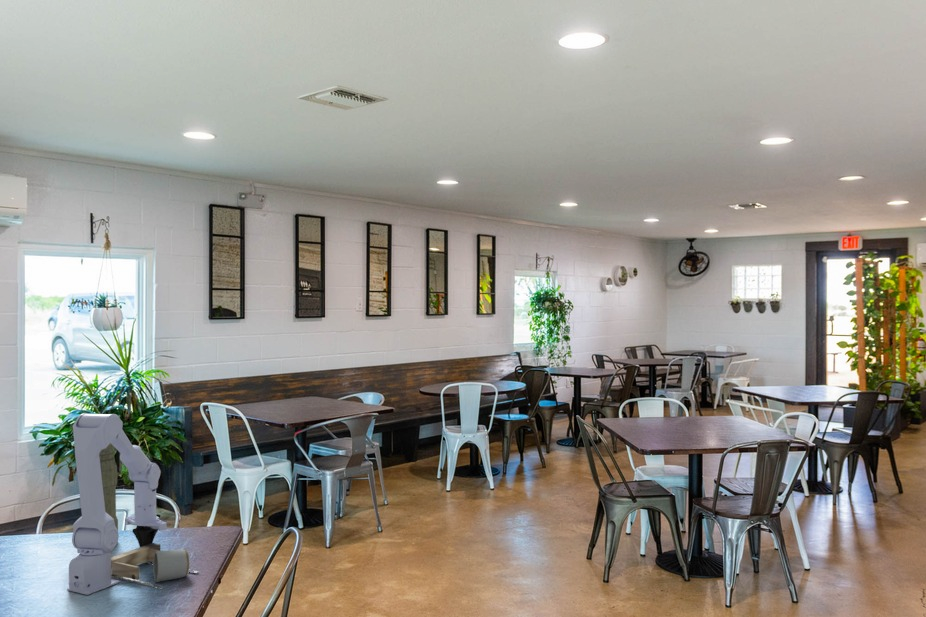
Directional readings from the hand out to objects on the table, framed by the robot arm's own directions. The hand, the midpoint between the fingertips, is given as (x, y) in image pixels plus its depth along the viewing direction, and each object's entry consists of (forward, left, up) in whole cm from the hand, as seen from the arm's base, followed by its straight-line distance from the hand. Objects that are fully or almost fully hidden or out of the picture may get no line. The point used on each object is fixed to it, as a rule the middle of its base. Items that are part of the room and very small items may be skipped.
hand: (145, 552), depth 215 cm
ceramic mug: (-7, -17, -2) cm, 19 cm away
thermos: (+4, +24, -2) cm, 24 cm away
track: (-8, -11, -2) cm, 13 cm away
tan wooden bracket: (-6, -7, -1) cm, 10 cm away
